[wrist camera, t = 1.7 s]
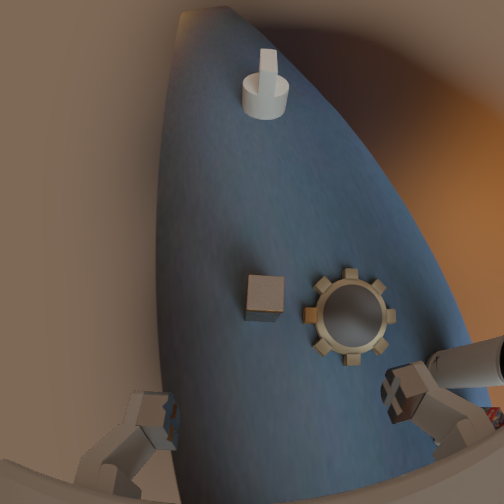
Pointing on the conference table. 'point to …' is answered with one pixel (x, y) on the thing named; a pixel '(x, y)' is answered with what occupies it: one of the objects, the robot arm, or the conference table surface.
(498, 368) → the travel mug
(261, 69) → the base with upright slab
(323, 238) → the conference table surface
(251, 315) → the link block
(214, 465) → the conference table surface
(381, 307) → the toothed wheel
